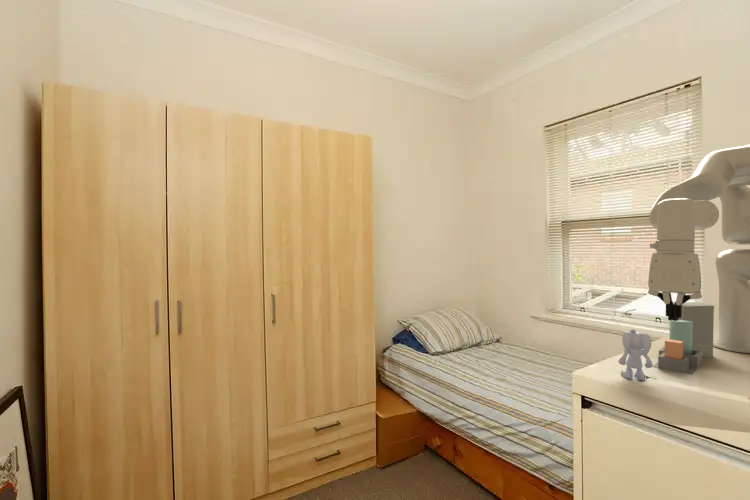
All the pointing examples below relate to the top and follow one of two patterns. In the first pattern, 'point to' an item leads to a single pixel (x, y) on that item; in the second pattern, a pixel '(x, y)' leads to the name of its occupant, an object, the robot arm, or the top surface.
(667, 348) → the plunger
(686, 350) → the cartridge
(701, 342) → the skincare box
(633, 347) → the toy figurine
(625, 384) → the top surface
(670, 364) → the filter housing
